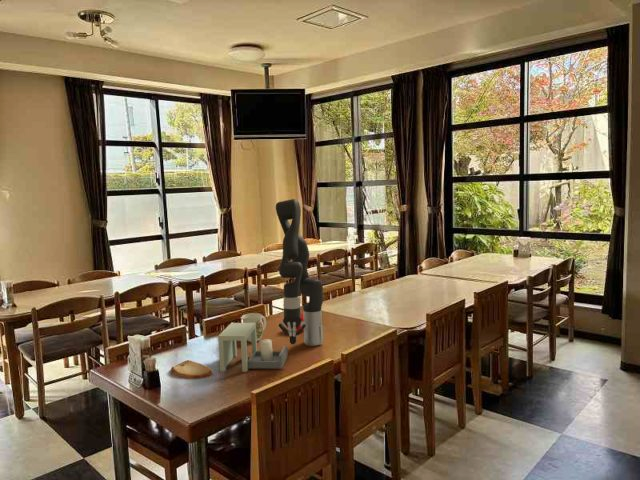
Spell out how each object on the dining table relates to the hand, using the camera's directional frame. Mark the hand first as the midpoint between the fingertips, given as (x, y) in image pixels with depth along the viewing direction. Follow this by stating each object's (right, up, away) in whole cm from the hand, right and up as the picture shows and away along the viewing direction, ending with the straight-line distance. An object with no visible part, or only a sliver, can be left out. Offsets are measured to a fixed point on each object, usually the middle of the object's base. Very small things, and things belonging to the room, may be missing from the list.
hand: (293, 343), depth 217 cm
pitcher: (-22, -6, +37) cm, 44 cm away
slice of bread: (-44, -12, -5) cm, 46 cm away
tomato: (-1, -4, +50) cm, 50 cm away
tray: (-12, -9, +2) cm, 15 cm away
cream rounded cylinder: (-12, -8, +2) cm, 14 cm away
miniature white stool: (-25, -10, +4) cm, 27 cm away
